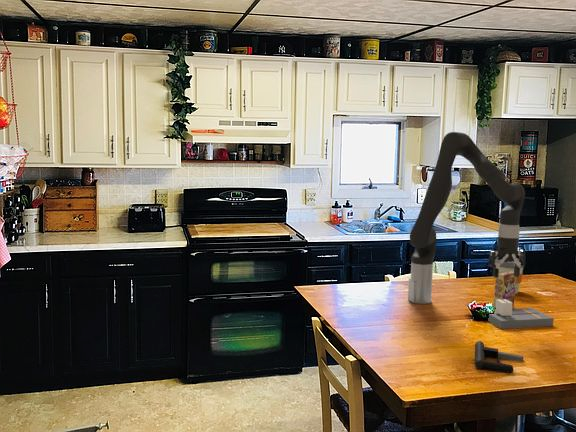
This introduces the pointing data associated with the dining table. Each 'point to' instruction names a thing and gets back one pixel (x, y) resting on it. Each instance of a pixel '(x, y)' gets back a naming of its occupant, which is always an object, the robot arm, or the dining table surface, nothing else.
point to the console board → (521, 319)
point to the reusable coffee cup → (510, 267)
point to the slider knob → (503, 307)
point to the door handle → (493, 353)
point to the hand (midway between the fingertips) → (505, 277)
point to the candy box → (505, 287)
